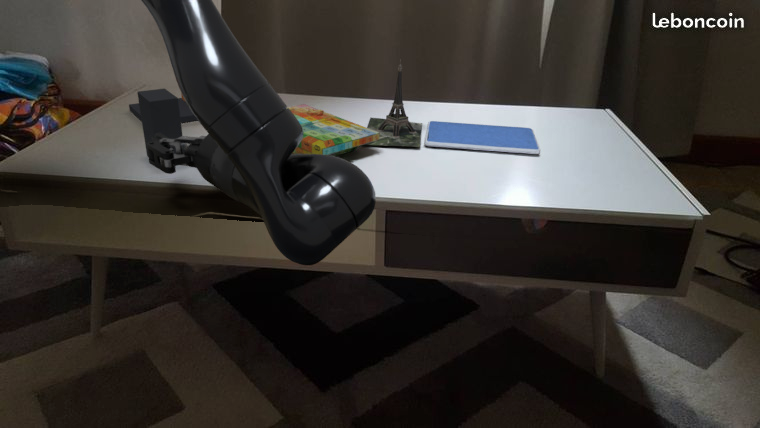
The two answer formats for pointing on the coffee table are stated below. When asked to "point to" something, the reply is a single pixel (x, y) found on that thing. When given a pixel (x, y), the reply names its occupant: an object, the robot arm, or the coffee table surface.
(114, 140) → the coffee table surface
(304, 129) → the puzzle game
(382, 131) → the eiffel tower figurine
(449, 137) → the tablet
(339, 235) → the robot arm
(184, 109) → the base pad
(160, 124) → the black block
